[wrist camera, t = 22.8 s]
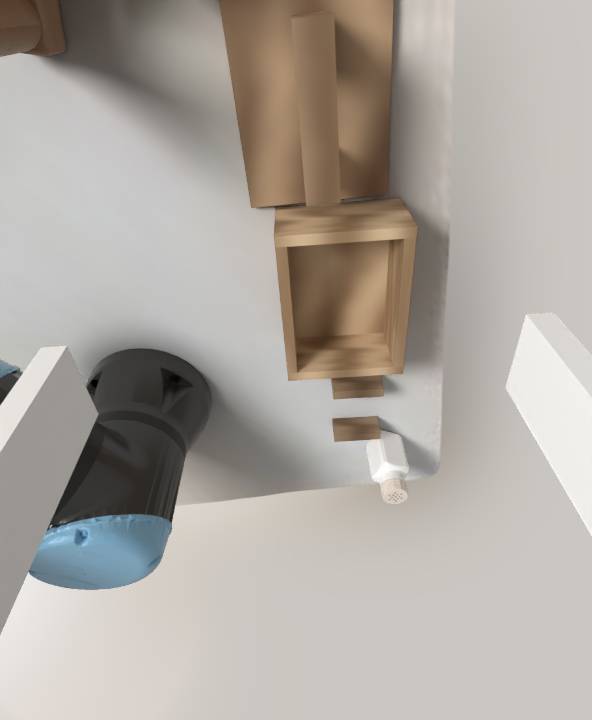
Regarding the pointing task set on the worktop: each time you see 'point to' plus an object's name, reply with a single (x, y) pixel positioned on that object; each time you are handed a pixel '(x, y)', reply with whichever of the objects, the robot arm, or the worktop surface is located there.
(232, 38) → the wooden post stand
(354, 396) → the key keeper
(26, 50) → the wooden block
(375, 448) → the pepper shaker
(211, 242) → the worktop surface
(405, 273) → the open wooden box
